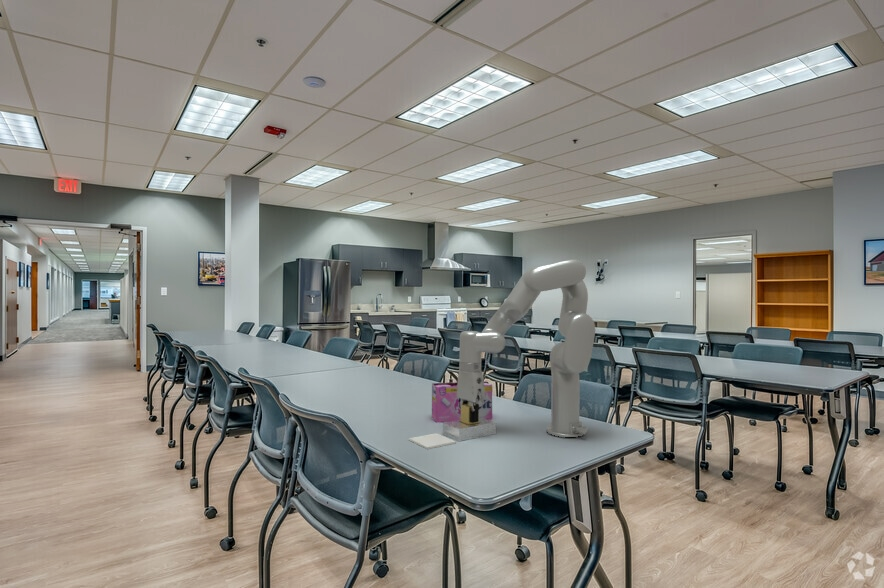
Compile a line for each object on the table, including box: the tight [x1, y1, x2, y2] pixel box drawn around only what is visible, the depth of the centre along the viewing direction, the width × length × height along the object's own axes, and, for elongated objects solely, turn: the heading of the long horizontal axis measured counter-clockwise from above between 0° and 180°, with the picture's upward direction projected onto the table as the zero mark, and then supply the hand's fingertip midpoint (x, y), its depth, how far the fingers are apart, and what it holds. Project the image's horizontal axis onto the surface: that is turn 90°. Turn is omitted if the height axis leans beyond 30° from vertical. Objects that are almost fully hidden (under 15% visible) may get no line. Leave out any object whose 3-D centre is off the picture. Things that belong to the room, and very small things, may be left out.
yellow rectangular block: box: [461, 403, 479, 425], centre depth 159 cm, size 4×4×10 cm
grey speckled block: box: [442, 417, 497, 442], centre depth 159 cm, size 9×16×4 cm, turn 125°
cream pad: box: [408, 432, 457, 450], centre depth 150 cm, size 11×11×1 cm
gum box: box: [431, 381, 493, 423], centre depth 180 cm, size 24×8×14 cm, turn 104°
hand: (469, 419), depth 159 cm, fingers closed on yellow rectangular block, 4 cm apart
